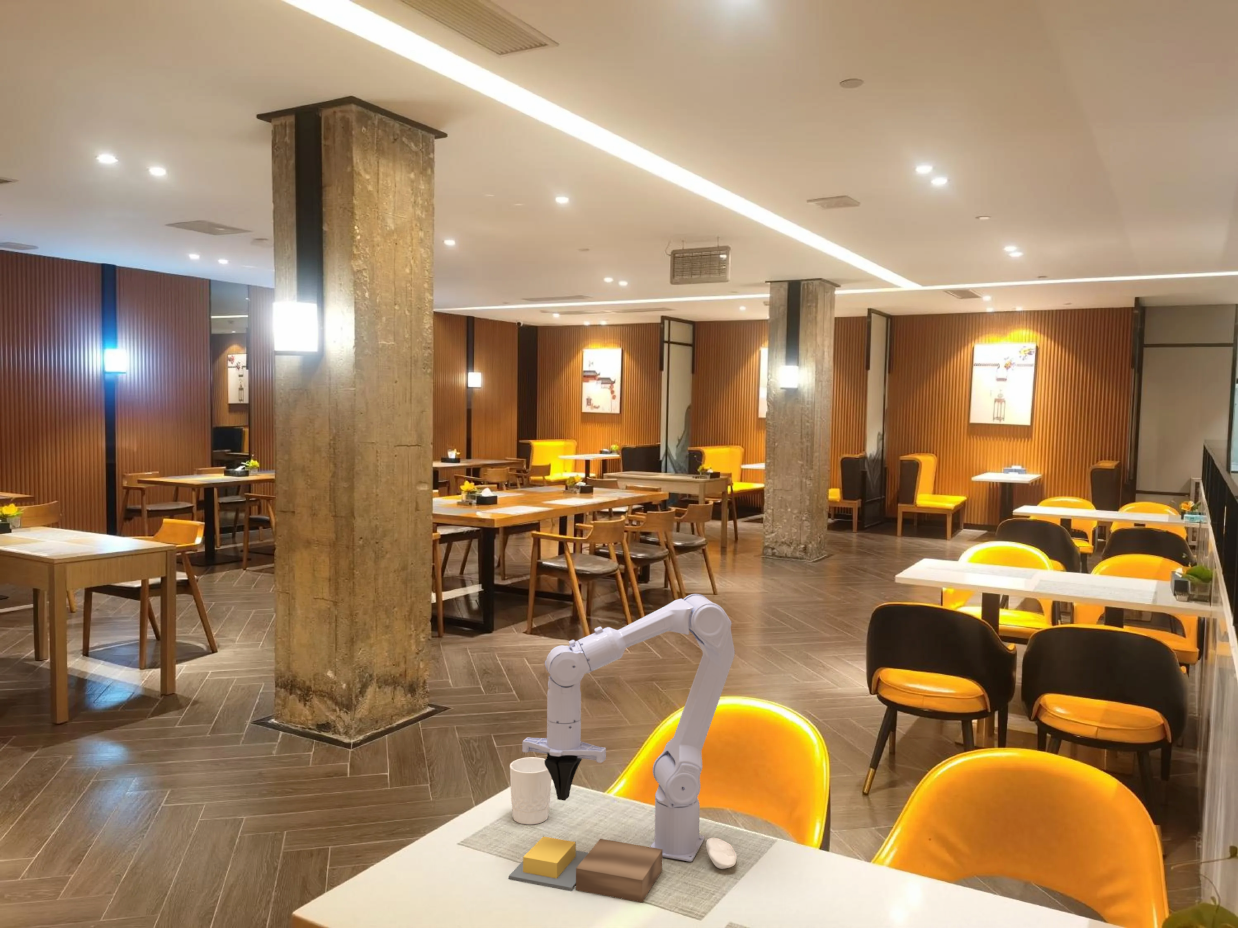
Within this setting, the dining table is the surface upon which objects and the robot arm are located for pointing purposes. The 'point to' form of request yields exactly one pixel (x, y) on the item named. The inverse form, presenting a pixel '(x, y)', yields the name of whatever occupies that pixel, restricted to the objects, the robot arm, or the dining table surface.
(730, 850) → the dumpling
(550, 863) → the yellow cuboid
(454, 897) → the dining table surface
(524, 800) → the white cup
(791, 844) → the dining table surface
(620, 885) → the brown cuboid
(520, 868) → the mat
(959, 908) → the dining table surface
